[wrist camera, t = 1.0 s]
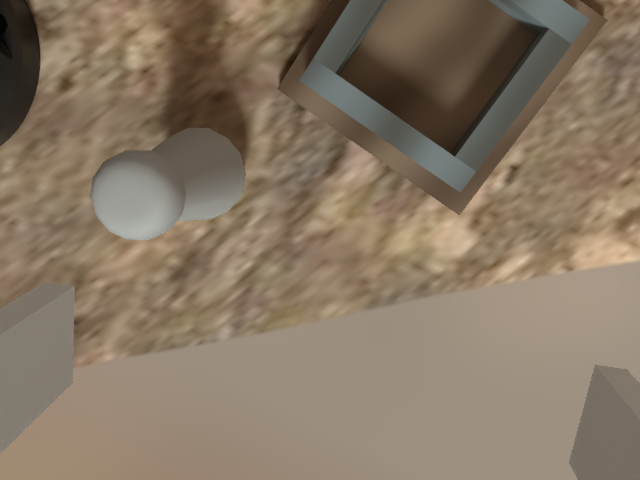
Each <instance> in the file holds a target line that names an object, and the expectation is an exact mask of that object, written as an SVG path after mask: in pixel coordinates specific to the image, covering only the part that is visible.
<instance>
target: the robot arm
mask: <svg viewBox="0 0 640 480" xmlns="http://www.w3.org/2000/svg"><path fill="white" fill-rule="evenodd" d="M38 74H39V49H38V42H37V36H36V31H35V27H34V24H33V20H32V17H31V14H30V12H29V9H28V7H27V4H26V2H25V0H0V146H1V145H3V144H4V143H5V142H6V141H7V140H8V139H9V138H10V137H11V136H12V135H13V134H14V133H15V132H16V130H17V129H18V128H19V127H20V125H21V124H22V122H23V121H24V119H25V117H26V115H27V113H28V111H29V109H30V107H31V104H32V101H33V99H34V95H35V92H36V87H37V82H38ZM74 288H75V286H70V285H63V284H56V283H50V282H45V283H43V284H41V285H39V286H38V287H36V288H34V289H33V290H31V291H29V292H27V293H26V294H24V295H22V296H21V297H19V298H17V299H15V300H14V301H12V302H10V303H9V304H7V305H5V306H3V307H2V308H0V453H1V452H2V451H3V450H5V449H6V448H7V446H9V444H11V443H12V442H13V441H14V440H15V439H16V438H17V437H18V436H19V435H20V434H21V433H22V432H23V431H24V430H25V429H26V428H27V427H28V426H29V425H30V424H31V423H32V422H33V421H34V420H35V419H36V418H37V417H38V416H39V415H40V414H41V413H42V412H44V411H45V409H47V408H48V407H49V406H50V405H51V403H53V402H54V401H55V400H56V399H57V398H58V397H59V396H60V395H61V394H62V393H63V392H64V391H65V390H66V389H67V388H68V387H69V386H70V385H71V384H72V379H73V334H74ZM569 463H570V465H571V467H572V469H573V471H574V473H575V475H576V477H577V478H578V480H640V383H639V382H638V381H637V380H636V379H635V378H634V377H633V376H632V375H631V374H630V372H629V371H628V370H626V369H619V368H613V367H607V366H599V365H595V367H594V371H593V374H592V378H591V382H590V386H589V390H588V393H587V397H586V401H585V405H584V408H583V412H582V416H581V419H580V423H579V427H578V431H577V435H576V438H575V442H574V446H573V449H572V453H571V457H570V461H569Z"/></svg>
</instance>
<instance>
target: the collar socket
mask: <svg viewBox="0 0 640 480" xmlns="http://www.w3.org/2000/svg"><path fill="white" fill-rule="evenodd" d="M606 21H607V19H605V18H604V17H603V16H601V15H600V14H598V13H597V12H595V11H594V10H593V9H591V8H590V7H588V6H587V5H586V4H584V3H583V2H581V1H580V0H333V1H332V2H331V4H330V6H329V7H328V9H327V10H326V12H325V13H324V15H323V17H322V18H321V20H320V21H319V23H318V25H317V26H316V28H315V29H314V31H313V33H312V34H311V36H310V37H309V39H308V41H307V42H306V44H305V45H304V47H303V49H302V50H301V52H300V53H299V55H298V56H297V58H296V60H295V61H294V63H293V64H292V66H291V68H290V69H289V71H288V72H287V74H286V76H285V77H284V79H283V80H282V82H281V84H280V85H279V87H278V88H277V89H278V90H280V91H281V92H283V93H284V94H286V95H287V96H288V97H290V98H291V99H293V100H294V101H296V102H297V103H299V104H300V105H301V106H303V107H304V108H306V109H307V110H309V111H310V112H311V113H313V114H314V115H316V116H317V117H319V118H320V119H322V120H323V121H324V122H326V123H327V124H329V125H330V126H332V127H333V128H335V129H336V130H337V131H339V132H340V133H342V134H343V135H345V136H346V137H347V138H349V139H350V140H352V141H353V142H355V143H356V144H358V145H359V146H360V147H362V148H363V149H365V150H366V151H368V152H369V153H371V154H372V155H373V156H375V157H376V158H378V159H379V160H381V161H382V162H384V163H385V164H386V165H388V166H389V167H391V168H392V169H394V170H395V171H396V172H398V173H399V174H401V175H402V176H404V177H405V178H407V179H408V180H409V181H411V182H412V183H414V184H415V185H417V186H418V187H420V188H421V189H422V190H424V191H425V192H427V193H428V194H430V195H431V196H432V197H434V198H435V199H437V200H438V201H440V202H441V203H443V204H444V205H445V206H447V207H448V208H450V209H451V210H453V211H454V212H456V213H457V214H458V215H460V214H461V212H462V211H463V210H464V208H465V207H466V206H467V204H468V203H469V202H470V200H471V199H472V198H473V196H474V195H475V194H476V193H477V191H478V190H479V189H480V187H481V186H482V185H483V183H484V182H485V181H486V179H487V178H488V177H489V175H490V174H491V173H492V171H493V170H494V169H495V167H496V166H497V165H498V164H499V162H500V161H501V160H502V158H503V157H504V156H505V154H506V153H507V152H508V150H509V149H510V148H511V146H512V145H513V144H514V142H515V141H516V140H517V138H518V137H519V136H520V135H521V133H522V132H523V131H524V129H525V128H526V127H527V125H528V124H529V123H530V121H531V120H532V119H533V117H534V116H535V115H536V113H537V112H538V111H539V110H540V108H541V107H542V106H543V104H544V103H545V102H546V100H547V99H548V98H549V96H550V95H551V94H552V92H553V91H554V90H555V88H556V87H557V86H558V84H559V83H560V82H561V81H562V79H563V78H564V77H565V75H566V74H567V73H568V71H569V70H570V69H571V67H572V66H573V65H574V63H575V62H576V61H577V59H578V58H579V57H580V55H581V54H582V53H583V52H584V50H585V49H586V48H587V46H588V45H589V44H590V42H591V41H592V40H593V38H594V37H595V36H596V34H597V33H598V32H599V30H600V29H601V28H602V26H603V25H604V24H605V23H606Z"/></svg>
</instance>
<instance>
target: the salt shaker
mask: <svg viewBox="0 0 640 480" xmlns="http://www.w3.org/2000/svg"><path fill="white" fill-rule="evenodd" d="M245 175H246V173H245V169H244V164H243V160H242V155H241V153H240V152H239V151H238V150H237V148H236V147H235V146H234V145H233V144H232V142H231V141H230V140H229V139H228V138H227V137H225V136H223V135H221V134H219V133H217V132H215V131H213V130H212V129H210V128H186V129H184V130H182V131H180V132H178V133H176V134H174V135H172V136H170V137H168V138H167V139H166V140H164V141H163V142H162V143H160V144H159V145H158V146H156V147H155V148H154V149H152V150H151V151H124V152H122V153H120V154H118V155H116V156H114V157H112V158H109V159H108V160H106V161H105V162H103V164H102V165H101V167H100V168H99V170H98V171H97V173H96V174H95V176H94V177H93V182H92V188H91V195H90V197H91V200H92V204H93V207H94V210H95V214H96V216H97V217H98V218H99V220H100V221H101V222H102V223H103V224H104V226H105V227H106V228H107V229H108V231H110V232H112V233H114V234H116V235H118V236H120V237H122V238H124V239H133V240H149V239H152V238H154V237H156V236H158V235H161V234H163V233H165V232H167V231H168V230H170V229H171V228H172V227H173V226H174V224H175V223H176V222H177V221H186V220H203V219H212V218H215V217H217V216H219V215H221V214H223V213H225V212H227V211H229V210H230V209H231V207H232V206H233V205H234V204H235V202H236V201H237V200H238V199H239V197H240V196H241V195H242V191H243V186H244V180H245Z"/></svg>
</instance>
